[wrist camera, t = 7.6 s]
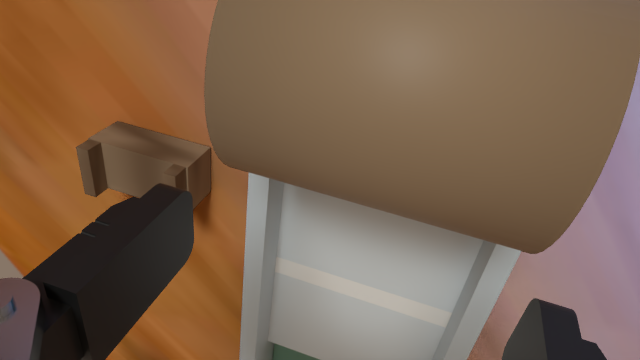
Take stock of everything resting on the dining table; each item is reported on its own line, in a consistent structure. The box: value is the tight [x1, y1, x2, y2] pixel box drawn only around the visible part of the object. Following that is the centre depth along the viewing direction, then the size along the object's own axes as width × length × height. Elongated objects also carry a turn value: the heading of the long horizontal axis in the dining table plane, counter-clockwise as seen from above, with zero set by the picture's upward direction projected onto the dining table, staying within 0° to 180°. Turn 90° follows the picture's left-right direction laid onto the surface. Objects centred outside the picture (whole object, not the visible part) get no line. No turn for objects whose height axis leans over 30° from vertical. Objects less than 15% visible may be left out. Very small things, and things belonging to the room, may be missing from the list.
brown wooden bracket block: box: [76, 121, 211, 209], centre depth 25 cm, size 6×3×3 cm, turn 82°
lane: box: [204, 0, 640, 360], centre depth 22 cm, size 12×32×10 cm, turn 172°
